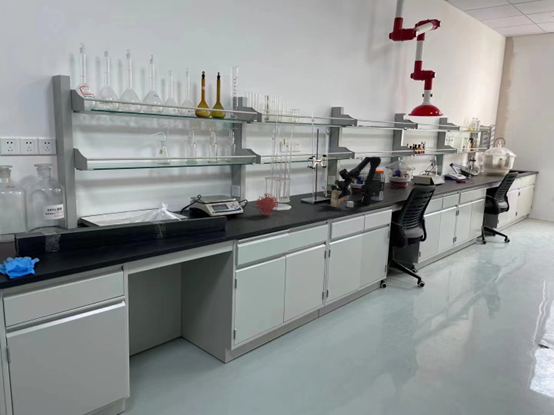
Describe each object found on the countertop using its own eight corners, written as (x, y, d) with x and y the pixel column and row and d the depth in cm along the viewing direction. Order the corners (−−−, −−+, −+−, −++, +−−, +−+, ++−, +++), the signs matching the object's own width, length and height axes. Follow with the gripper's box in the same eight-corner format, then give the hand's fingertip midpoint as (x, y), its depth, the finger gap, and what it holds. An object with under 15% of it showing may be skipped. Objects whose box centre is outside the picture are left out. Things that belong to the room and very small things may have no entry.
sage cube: (339, 203, 339) (339, 198, 338) (338, 204, 334) (338, 199, 333) (333, 202, 340) (333, 198, 340) (332, 203, 336) (332, 199, 335)
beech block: (335, 205, 329) (336, 190, 327) (338, 206, 325) (340, 191, 323) (330, 205, 327) (331, 190, 324) (334, 206, 323) (335, 191, 320)
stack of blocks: (342, 198, 364) (343, 184, 362) (349, 199, 361) (350, 185, 358) (330, 201, 347) (332, 186, 345) (337, 202, 344) (338, 187, 341)
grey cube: (351, 206, 329) (352, 201, 328) (353, 207, 325) (353, 202, 324) (346, 206, 328) (347, 201, 327) (348, 207, 324) (348, 202, 324)
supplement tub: (386, 201, 361) (389, 171, 356) (369, 201, 357) (372, 170, 352) (378, 197, 376) (380, 169, 371) (362, 197, 372) (364, 168, 367)
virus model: (282, 216, 280) (283, 194, 277) (265, 218, 270) (266, 196, 268) (267, 212, 291) (268, 191, 288) (251, 214, 281) (252, 192, 278)
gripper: (333, 174, 331) (321, 189, 328) (349, 177, 316) (336, 193, 312) (340, 184, 337) (328, 198, 333) (355, 187, 321) (343, 202, 318)
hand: (334, 197), depth 324 cm, fingers open, 9 cm apart
